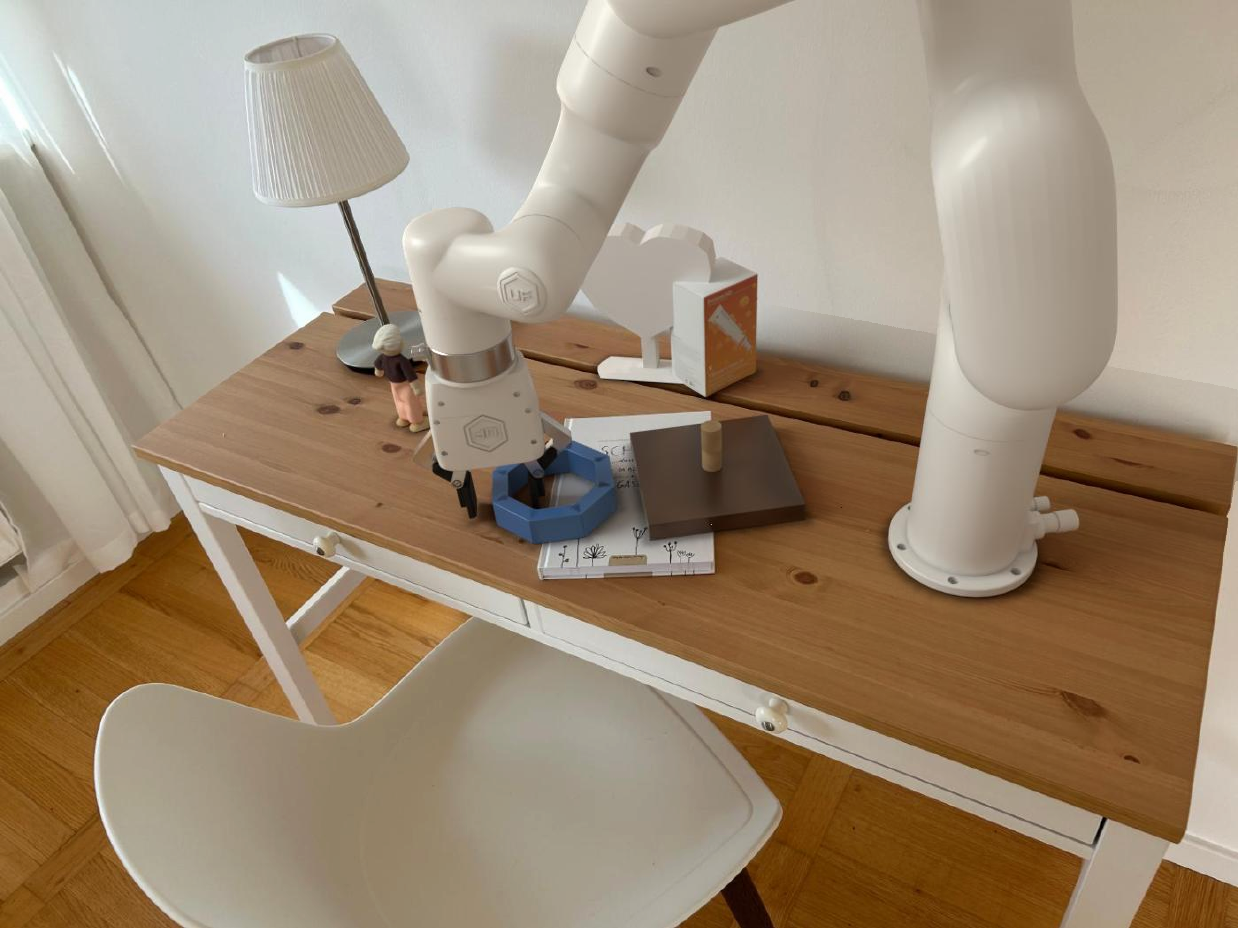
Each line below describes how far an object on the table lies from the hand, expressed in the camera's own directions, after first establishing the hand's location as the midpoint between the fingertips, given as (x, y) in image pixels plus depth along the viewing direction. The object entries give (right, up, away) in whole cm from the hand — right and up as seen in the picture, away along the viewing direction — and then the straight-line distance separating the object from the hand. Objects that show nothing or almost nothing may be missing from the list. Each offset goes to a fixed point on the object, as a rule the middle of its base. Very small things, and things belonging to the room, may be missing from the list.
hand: (504, 504), depth 91 cm
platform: (+21, +2, +1) cm, 21 cm away
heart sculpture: (+15, +15, +18) cm, 29 cm away
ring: (+5, 0, +1) cm, 5 cm away
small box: (+23, +14, +17) cm, 32 cm away
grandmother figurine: (-13, +9, +14) cm, 21 cm away
